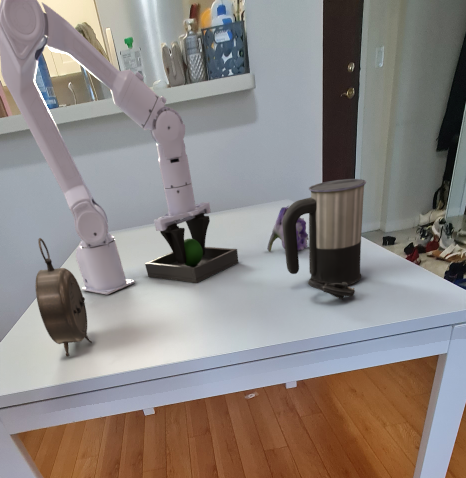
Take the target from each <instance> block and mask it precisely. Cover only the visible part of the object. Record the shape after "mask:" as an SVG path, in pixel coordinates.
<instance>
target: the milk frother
mask: <svg viewBox="0 0 466 478" xmlns="http://www.w3.org/2000/svg"><path fill="white" fill-rule="evenodd" d="M366 184H367V180H365V179H362V178H345V179H336V180H330V181H324V182H320V183H316V184H313V185H311V186H309V187H308V190H309V191H310V195H311V196H310V197H306V198H302V199H298V200H296V201H294V202H293V203H292V204H291V205H289V208H288V207H287V208H288V209H287V211H286V212H285V214H284V217H283V236H284V245H285V249H284V253H285V262H286V269H287V271H288V272H289V273H290V274H291V275H296V274H298V273H299V270H300V261H299V251H298V246H297V234H296V223H297V220H298V219H299V217H300V218H301V217H302V216H304V215H306V214H308V242H309V243H308V244H309V245H308V247H309V249H308V250H309V251H308V253H309V255H308V256H309V262H308V263H309V268H308V269H309V274H310V279H309V278H308V281H307V284H308V285H309V286H310V287H312V288H314V289H317V290H319V291H323V293H327V294H329V295H331V296H333V297H336V298H338V299H339V300H341V301H343V300H344V298H345V297H353V296H354V295H355V292H356V290H355V287H350V285H353V284H355V283H357V282H359V281H360V280H361V278H362V274H361V253H362V252H361V250H362V249H361V247H362V233H363V231H362V230H363V229H362V228H363V215H364V214H363V211H364V193H365V185H366Z"/></svg>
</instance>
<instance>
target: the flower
mask: <svg viewBox="0 0 466 478" xmlns="http://www.w3.org/2000/svg"><path fill="white" fill-rule="evenodd" d="M289 207H290V205H287V206H283V207H280V210H279V212H278V215H277V218H276V220H275V223H274V226H273V227H272V231H271V235H270V237H269V240H268V243H267V251H268V252H269V253H271V252H272V247H273V245H274V242H275V241H276V239H279V240H280V241H281V246H282V248H283V249H284V250H285V245H284V236H283V217H284V214H285V212H286V211H287V209H288V208H289ZM296 234H297V246H298V252H299V251H300V250H301V251H303V250H304V249H307V248H308V241H309V233H308V232H307V222H306V220H305V219H304V217H301V216H300V217H299V219H298V220H297V223H296Z"/></svg>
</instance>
